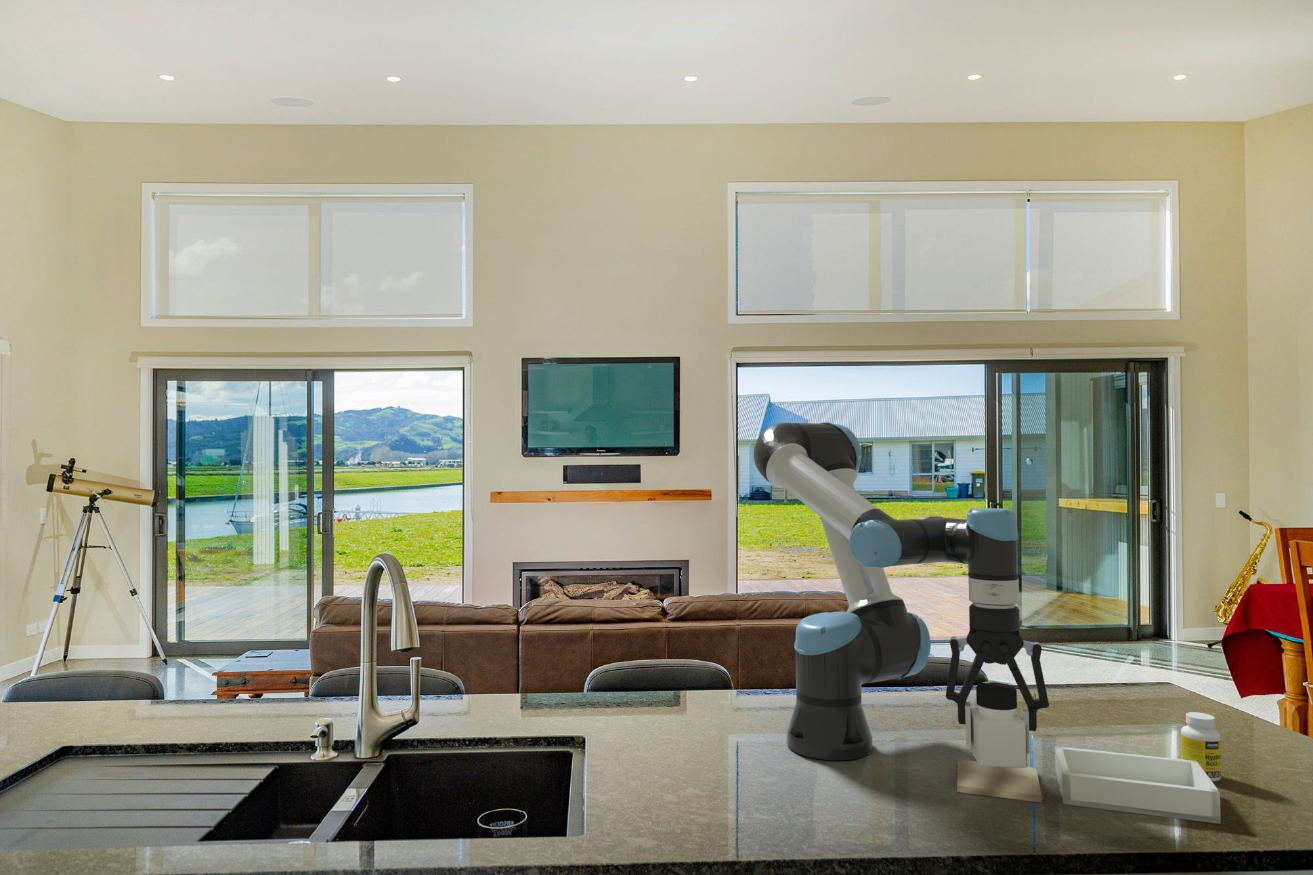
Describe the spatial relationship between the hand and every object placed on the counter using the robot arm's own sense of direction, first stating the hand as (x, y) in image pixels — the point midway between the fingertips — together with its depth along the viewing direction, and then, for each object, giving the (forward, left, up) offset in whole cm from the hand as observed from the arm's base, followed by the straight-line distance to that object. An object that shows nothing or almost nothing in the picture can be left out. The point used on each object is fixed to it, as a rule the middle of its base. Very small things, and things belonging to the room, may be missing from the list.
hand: (997, 747), depth 132 cm
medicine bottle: (0, 0, -2) cm, 2 cm away
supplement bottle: (+31, +14, -6) cm, 34 cm away
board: (0, 0, -6) cm, 6 cm away
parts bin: (+19, +1, -6) cm, 20 cm away
